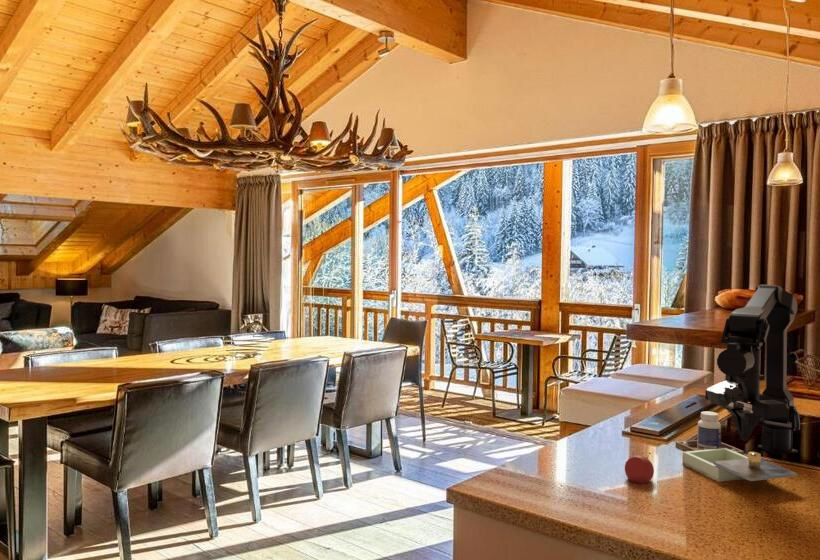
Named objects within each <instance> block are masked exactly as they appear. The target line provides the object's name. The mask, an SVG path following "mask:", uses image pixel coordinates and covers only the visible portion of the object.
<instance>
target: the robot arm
mask: <svg viewBox="0 0 820 560" xmlns="http://www.w3.org/2000/svg"><path fill="white" fill-rule="evenodd" d="M797 313H798V301H797V299H796V296H795V295H794V294H792V293H790V292H788V291H786V290H784V289H783V288H782V286H779V285H778V284H759V285H756V287H755V292H754V294H753V295H752V296H751V298H750V299H749V300H748V302H747V303H746V305H745V306H744V307H740V308H736V309H734V310H733V311H732V312H731V313H730V314H729V316H727V318H726V319H725V324H724V326H723V327H724V328H723V331H722V335H721V340H720V344H722V345H726V349H724V350H722V351H721V352H720V353H719V354H718V356H717V358H716V365H717V368H718V369H719V370H720V372H721V373H722V374H724V375H725V376H724V377H725V378H724V381H720V382H717V383H716V384H713V385H711V386H709V387H707V388H706V390H705V396H704V397H705V399H704V400H707V401H709V403H710V404H712V405H713V404H714V405H718V406H719V407H721V408H723V409H724V410H726V411H727V412H728V413H729V414H731V416H732V419H733V421H734V424H735V426H736V429H737V432H738V436H739V438H740V440H741V441H743V442H744V441H748V440H749V438H750V436H751V435H752V433H753V431H754V430H755V428H756V426H762V431H761V444H757V448H759V449H761V450H763V451H766V452H769V453H772V454H774V455H786V454H787V455H788V454H796V453H798V450H797V449H794V448H793V443H794V442H793V437H794V436H793V434H794V433H793V432H795V431H800V430H801V420H800V413H799V412H798V409H797V406H795V397H794V396H793V395H792V393H791V391H790V390H789V388H788V387H787V380H788V379H787V371H788V370H787V369H788V367H787V366H788V365H787V364H788V363H787V360H788V359H787V358H788V352H787V351H788V329H789V327H790V326H791V325H792V323H793V322H794V321H795V316H796V315H797ZM763 344H765V348H766V349H765V375H764V374H761V355H762V354H761V352H762V350H761V347H762V346H763ZM761 381H765V388H764V390H763V391H762V392H761Z"/></svg>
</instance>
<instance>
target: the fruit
mask: <svg viewBox="0 0 820 560" xmlns="http://www.w3.org/2000/svg"><path fill="white" fill-rule="evenodd" d="M651 453H652V452H649V453H648V454H649V455H651ZM649 455H647V457H645V456H643V455H641V454H640V455H636V454H635V455H633V456H631V457H629V458H628V459H627V460H626V462H625V463H624V473H625V475H626V477H627V479H628V480H629V481H631V482H633V483H634V484H635V483H636V484H648V483H649V482H650V481H651V480H652V479H653V476H654V474H655V469H654V465H653V463H652V462H651V460H650V459H649Z"/></svg>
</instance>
